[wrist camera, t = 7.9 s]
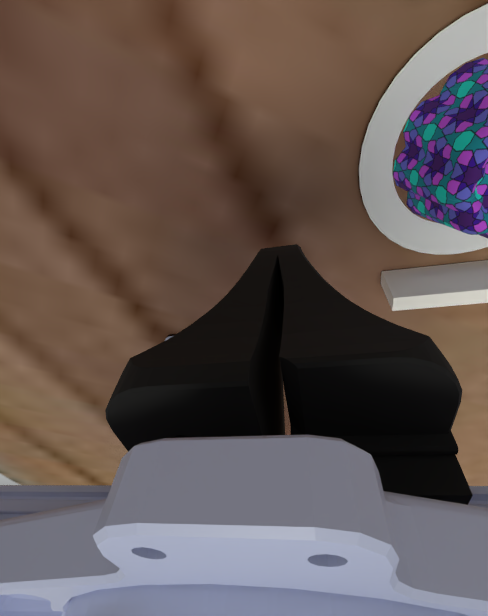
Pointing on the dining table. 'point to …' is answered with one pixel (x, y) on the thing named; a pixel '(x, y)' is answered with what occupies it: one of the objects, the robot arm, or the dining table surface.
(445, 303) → the serving frame
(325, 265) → the dining table surface
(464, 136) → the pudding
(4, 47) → the dining table surface
